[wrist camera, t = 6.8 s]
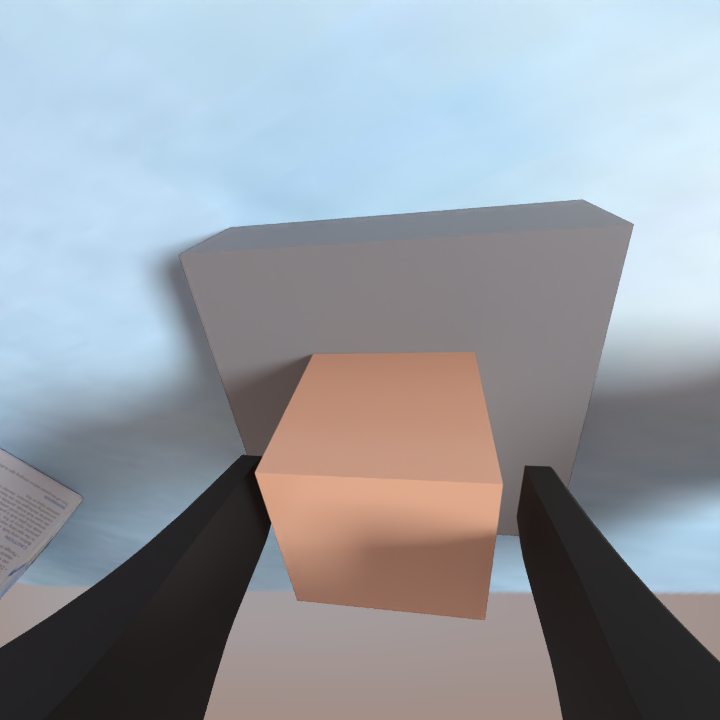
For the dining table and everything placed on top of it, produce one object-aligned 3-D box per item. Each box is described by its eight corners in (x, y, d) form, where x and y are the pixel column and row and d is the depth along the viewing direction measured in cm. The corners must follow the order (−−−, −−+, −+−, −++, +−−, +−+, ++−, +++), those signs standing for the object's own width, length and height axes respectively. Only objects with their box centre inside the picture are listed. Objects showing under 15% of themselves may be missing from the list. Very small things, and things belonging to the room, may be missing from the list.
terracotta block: (474, 351, 11) (503, 483, 7) (467, 470, 14) (485, 620, 10) (313, 354, 12) (254, 472, 8) (333, 465, 15) (297, 600, 11)
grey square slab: (578, 197, 12) (633, 224, 9) (531, 463, 19) (554, 538, 15) (235, 224, 15) (178, 254, 11) (295, 454, 21) (269, 519, 17)
